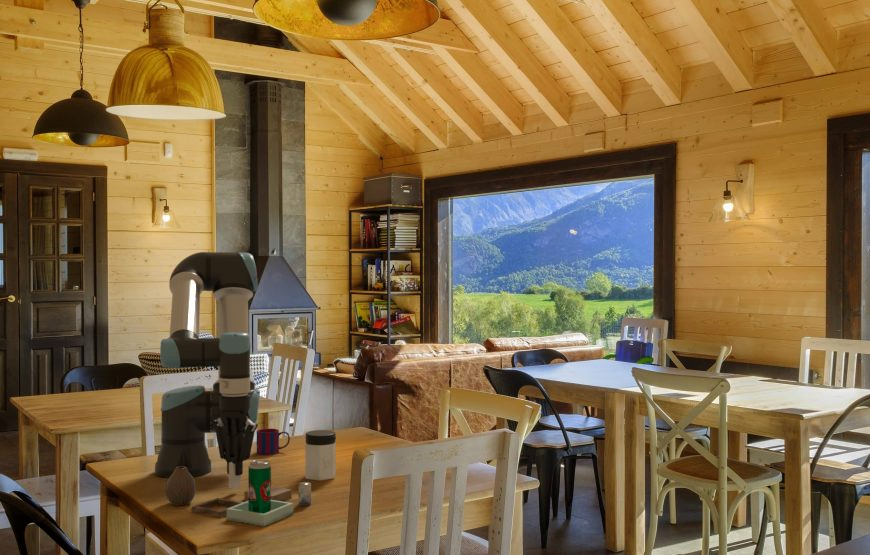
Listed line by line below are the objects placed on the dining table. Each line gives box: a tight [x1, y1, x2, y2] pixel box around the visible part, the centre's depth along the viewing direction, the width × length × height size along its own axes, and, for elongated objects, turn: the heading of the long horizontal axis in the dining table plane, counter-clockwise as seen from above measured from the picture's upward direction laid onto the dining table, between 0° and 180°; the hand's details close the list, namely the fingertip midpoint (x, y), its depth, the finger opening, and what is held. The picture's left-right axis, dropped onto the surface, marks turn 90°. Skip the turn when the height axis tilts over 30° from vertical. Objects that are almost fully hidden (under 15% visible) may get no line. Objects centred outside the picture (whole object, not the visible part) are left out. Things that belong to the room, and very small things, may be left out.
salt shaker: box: [297, 481, 312, 507], centre depth 204 cm, size 3×3×5 cm
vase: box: [165, 466, 197, 507], centre depth 205 cm, size 7×7×9 cm
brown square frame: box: [191, 497, 244, 518], centre depth 199 cm, size 9×9×1 cm
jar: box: [304, 429, 337, 481], centre depth 231 cm, size 9×8×12 cm
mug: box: [256, 428, 291, 456], centre depth 261 cm, size 7×10×7 cm
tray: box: [226, 500, 294, 527], centre depth 194 cm, size 11×11×2 cm
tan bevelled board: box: [243, 485, 293, 502], centre depth 209 cm, size 9×7×2 cm
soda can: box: [247, 459, 272, 514], centre depth 194 cm, size 5×5×12 cm
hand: (234, 487), depth 214 cm, fingers closed
